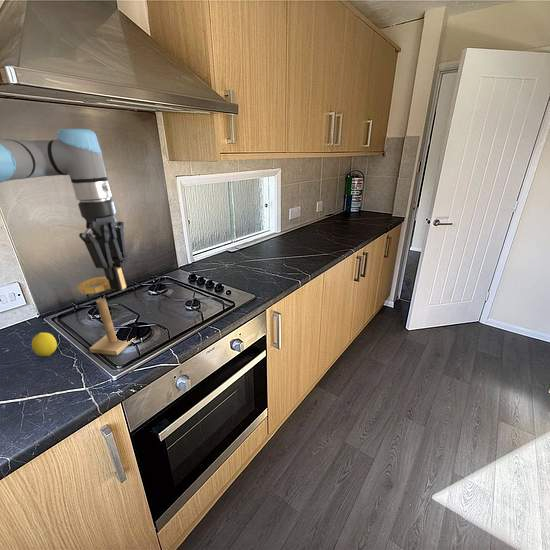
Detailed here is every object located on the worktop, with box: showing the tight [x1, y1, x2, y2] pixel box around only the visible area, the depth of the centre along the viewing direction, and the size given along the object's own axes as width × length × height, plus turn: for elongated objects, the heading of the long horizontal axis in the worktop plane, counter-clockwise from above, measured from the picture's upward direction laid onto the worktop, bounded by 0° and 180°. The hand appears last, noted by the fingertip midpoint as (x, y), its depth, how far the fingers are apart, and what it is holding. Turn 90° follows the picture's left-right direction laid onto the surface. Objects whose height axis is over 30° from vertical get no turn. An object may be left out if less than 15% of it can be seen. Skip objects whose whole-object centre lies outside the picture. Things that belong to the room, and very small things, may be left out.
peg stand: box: [89, 297, 137, 356], centre depth 87 cm, size 9×9×16 cm
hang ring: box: [76, 267, 127, 295], centre depth 80 cm, size 13×8×6 cm, turn 79°
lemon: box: [31, 332, 58, 357], centre depth 84 cm, size 6×6×8 cm
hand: (119, 287), depth 80 cm, fingers closed on hang ring, 2 cm apart
